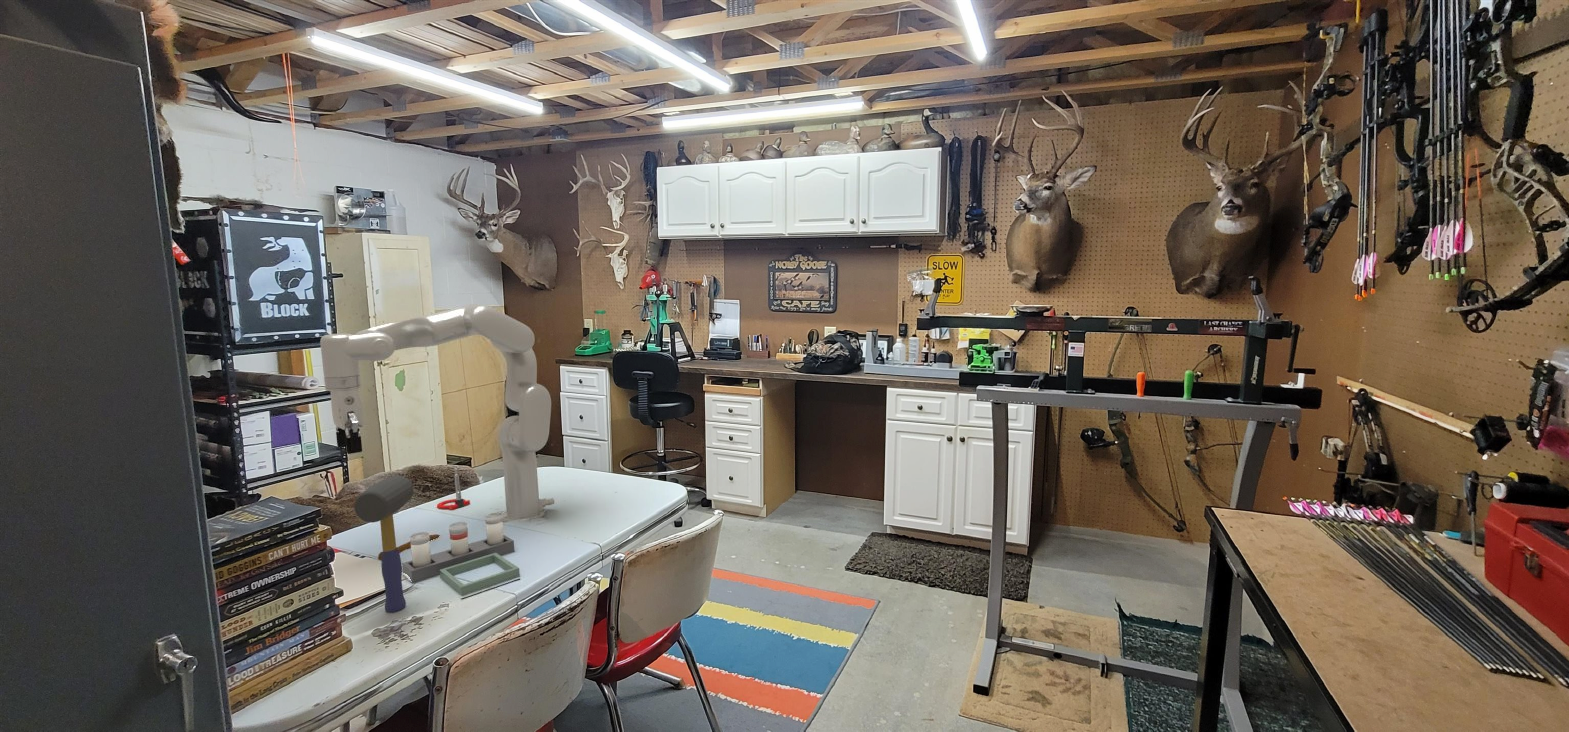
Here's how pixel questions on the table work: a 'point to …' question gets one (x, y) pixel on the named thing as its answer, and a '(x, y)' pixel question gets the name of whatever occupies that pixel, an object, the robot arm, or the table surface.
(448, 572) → the tray
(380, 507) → the rubber mallet
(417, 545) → the cylinder
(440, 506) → the tow hook
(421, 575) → the fuse holder
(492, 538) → the cylinder
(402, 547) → the primitive tool
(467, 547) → the cylinder
